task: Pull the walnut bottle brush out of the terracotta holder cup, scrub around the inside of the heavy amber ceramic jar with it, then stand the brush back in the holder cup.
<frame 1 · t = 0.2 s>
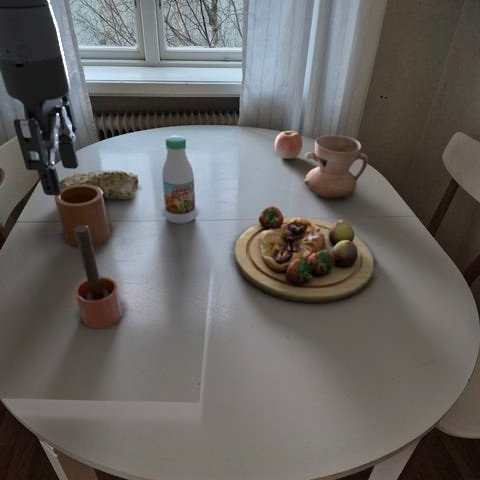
hand: (62, 180, 62), 29 cm above the table, tool pointing down, fingers open, 8 cm apart
wooden plate: (302, 261, 100), on the table
brush: (102, 314, 83), point 1 cm above the table, touching holder
milk bottle: (180, 217, 112), on the table
apple: (286, 157, 143), on the table
holder: (103, 316, 83), on the table
jar: (88, 237, 104), on the table
ceramic jug: (330, 192, 125), on the table
seeded bread loaf: (100, 198, 118), on the table
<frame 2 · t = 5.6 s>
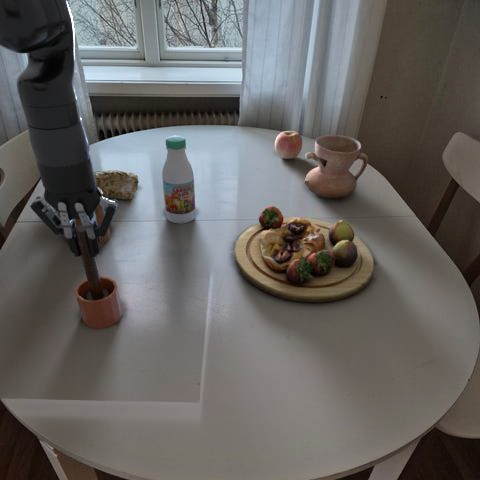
hand: (87, 253, 73), 15 cm above the table, tool pointing down, fingers closed on brush, 2 cm apart
brush: (102, 314, 83), point 1 cm above the table, touching gripper, holder
everything else where it was.
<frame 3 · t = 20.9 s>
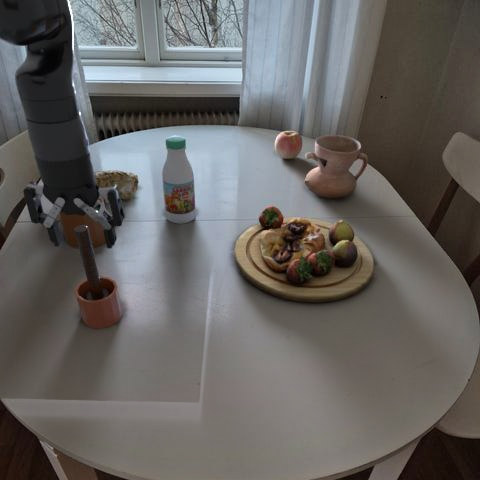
hand: (85, 244, 72), 16 cm above the table, tool pointing down, fingers open, 8 cm apart
brush: (102, 314, 83), point 1 cm above the table, touching holder
everything else where it was.
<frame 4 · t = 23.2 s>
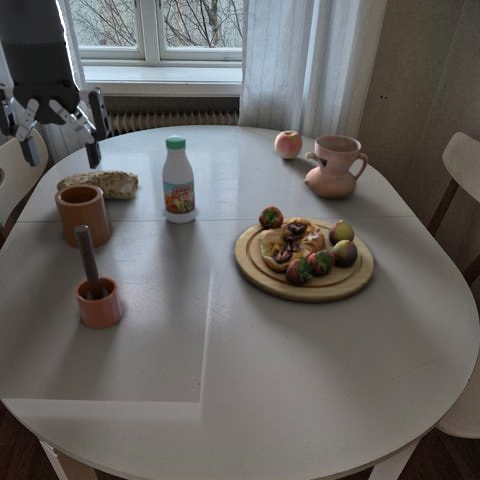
hand: (65, 165, 63), 30 cm above the table, tool pointing down, fingers open, 8 cm apart
nothing on the table moved.
at the end: brush 0.0 cm off-centre in the holder, point 0.6 cm above the holder's base; brush tilted 0°; brush touching holder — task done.
